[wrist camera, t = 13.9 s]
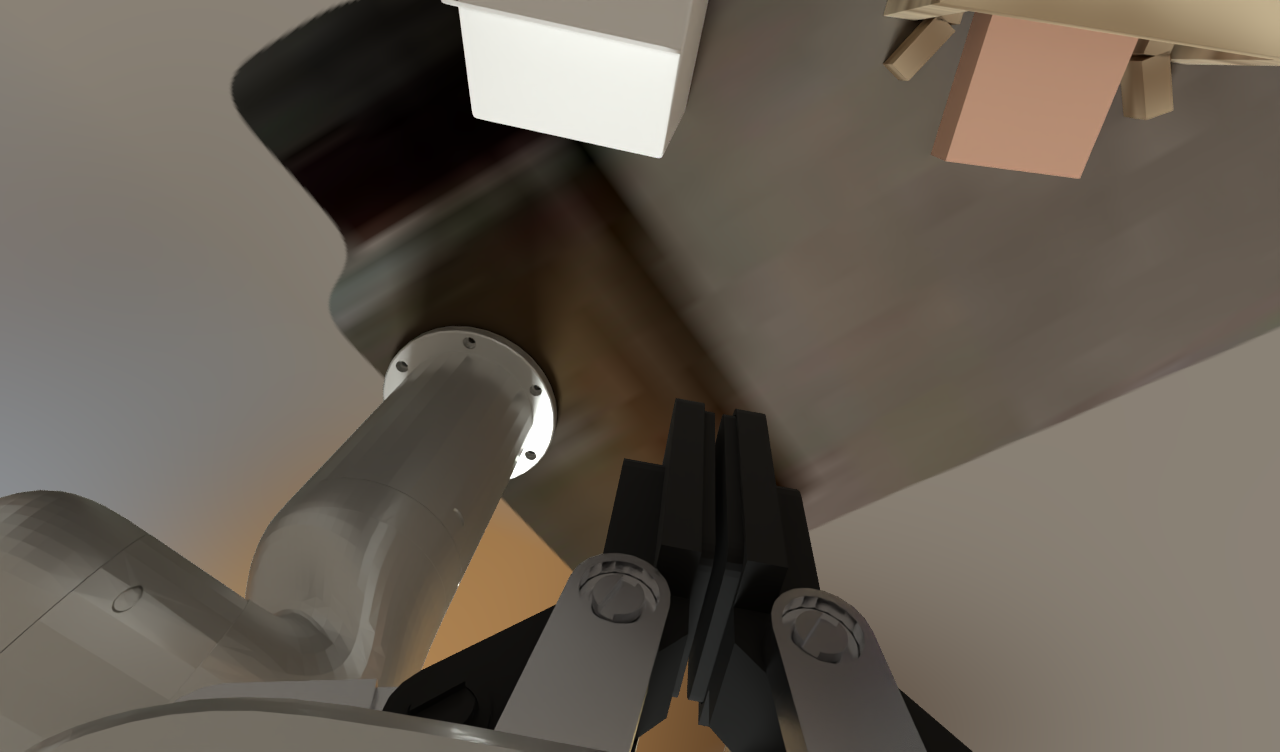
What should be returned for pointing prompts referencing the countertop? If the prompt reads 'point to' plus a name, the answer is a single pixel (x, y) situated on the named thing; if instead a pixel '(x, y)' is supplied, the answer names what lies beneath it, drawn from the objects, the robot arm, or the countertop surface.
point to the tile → (1030, 95)
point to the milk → (583, 67)
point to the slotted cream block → (1123, 5)
